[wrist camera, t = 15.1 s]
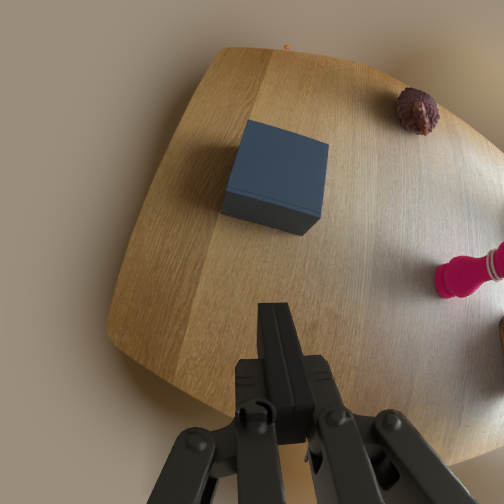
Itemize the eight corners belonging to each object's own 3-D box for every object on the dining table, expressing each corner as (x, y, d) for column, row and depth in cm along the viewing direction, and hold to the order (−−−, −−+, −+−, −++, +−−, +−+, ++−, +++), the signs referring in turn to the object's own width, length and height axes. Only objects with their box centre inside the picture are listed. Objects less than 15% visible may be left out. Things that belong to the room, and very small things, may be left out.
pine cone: (381, 87, 57) (413, 69, 50) (401, 116, 62) (432, 100, 55) (397, 122, 47) (438, 101, 41) (418, 156, 52) (456, 138, 46)
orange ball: (286, 49, 151) (289, 45, 149) (282, 46, 151) (285, 43, 149) (288, 51, 154) (291, 47, 152) (284, 48, 154) (287, 44, 152)
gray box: (320, 217, 35) (329, 144, 39) (225, 190, 34) (247, 119, 38) (302, 236, 42) (312, 168, 46) (221, 213, 41) (240, 147, 44)
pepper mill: (458, 298, 45) (542, 275, 26) (435, 303, 43) (527, 280, 24) (452, 261, 47) (532, 228, 28) (429, 263, 45) (516, 227, 26)
